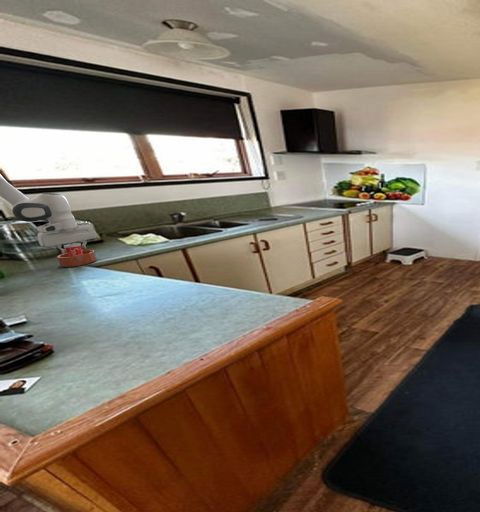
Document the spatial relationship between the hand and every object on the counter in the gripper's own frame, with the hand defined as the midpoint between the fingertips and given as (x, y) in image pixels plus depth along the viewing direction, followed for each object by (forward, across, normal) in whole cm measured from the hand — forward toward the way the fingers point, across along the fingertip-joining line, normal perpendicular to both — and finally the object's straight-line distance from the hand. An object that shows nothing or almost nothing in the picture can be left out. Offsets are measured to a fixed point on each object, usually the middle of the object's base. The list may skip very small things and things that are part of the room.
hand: (74, 250), depth 143 cm
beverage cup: (+6, 0, 0) cm, 6 cm away
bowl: (+7, 0, 0) cm, 7 cm away
